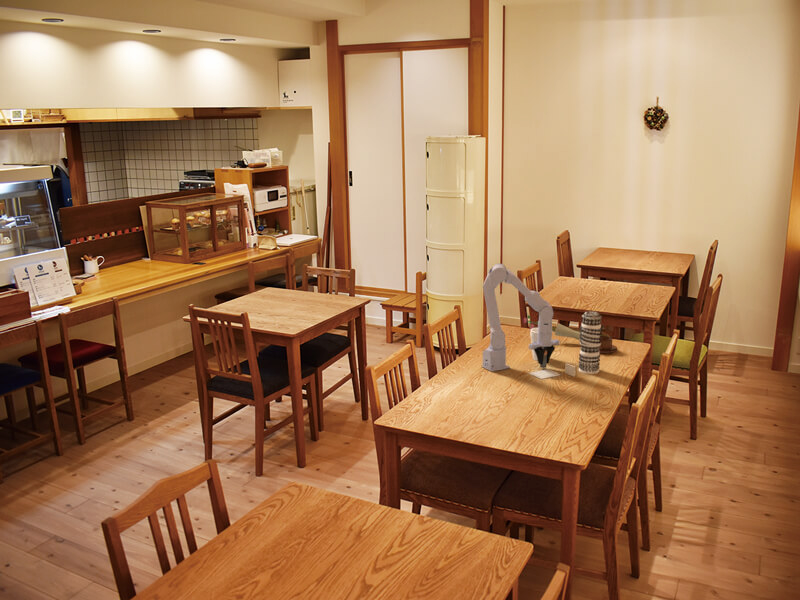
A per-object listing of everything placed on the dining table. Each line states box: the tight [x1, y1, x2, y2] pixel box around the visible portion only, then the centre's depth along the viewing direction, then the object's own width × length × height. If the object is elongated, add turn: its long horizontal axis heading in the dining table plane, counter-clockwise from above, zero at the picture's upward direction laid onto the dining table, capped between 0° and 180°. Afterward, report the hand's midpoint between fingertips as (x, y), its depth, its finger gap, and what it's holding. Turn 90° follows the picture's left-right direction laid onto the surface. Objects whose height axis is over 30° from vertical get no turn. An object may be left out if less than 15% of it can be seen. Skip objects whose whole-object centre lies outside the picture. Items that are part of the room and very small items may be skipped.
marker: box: [539, 350, 548, 369], centre depth 300 cm, size 3×3×7 cm
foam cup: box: [529, 327, 543, 362], centre depth 312 cm, size 10×9×13 cm
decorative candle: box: [578, 310, 603, 375], centre depth 295 cm, size 9×9×25 cm
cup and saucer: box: [599, 335, 618, 354], centre depth 322 cm, size 12×12×6 cm
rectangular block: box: [564, 362, 576, 377], centre depth 293 cm, size 5×1×4 cm, turn 27°
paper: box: [528, 368, 561, 380], centre depth 294 cm, size 10×8×1 cm
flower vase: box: [523, 314, 582, 341], centre depth 336 cm, size 12×12×35 cm
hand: (543, 363), depth 300 cm, fingers closed on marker, 3 cm apart
